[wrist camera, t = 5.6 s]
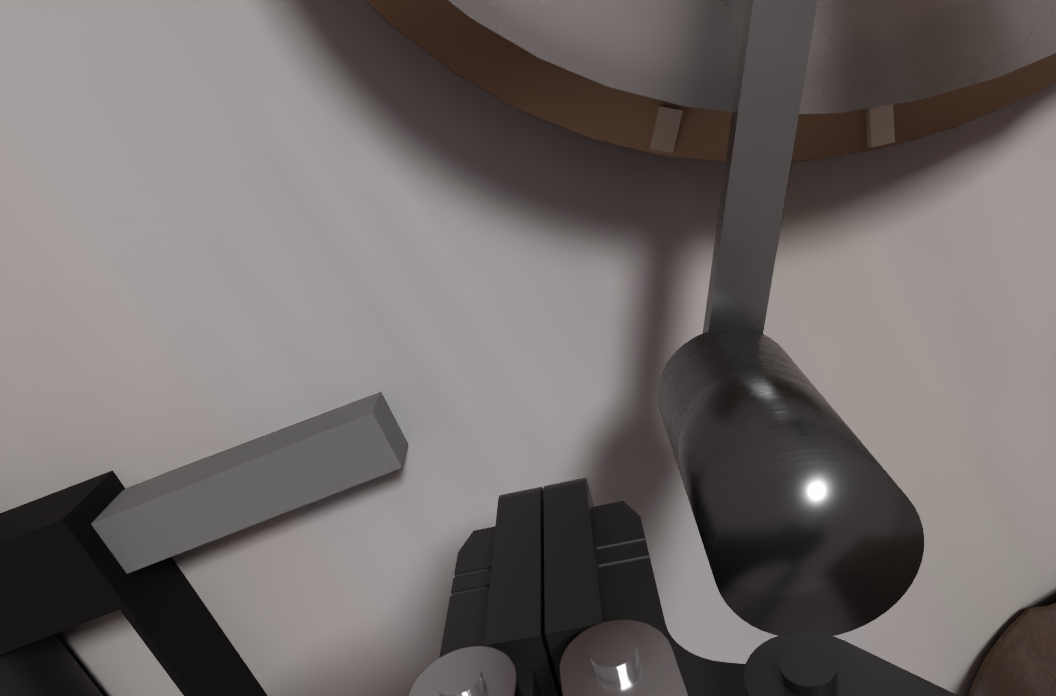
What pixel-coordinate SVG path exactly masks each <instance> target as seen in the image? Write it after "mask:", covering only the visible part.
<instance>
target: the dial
mask: <svg viewBox="0 0 1056 696" xmlns="http://www.w3.org/2000/svg"><path fill="white" fill-rule="evenodd" d="M448 1H450V2H451V3H452V4H454V5H455V6H456V7H457V8H459V9H460V10H461V11H463V12H464V13H465V14H466V15H468V16H469V17H470V18H472V19H473V20H475V21H476V22H478V23H479V24H481V25H483V26H485V27H486V28H488V29H490V30H491V31H493V32H495V33H496V34H498V35H500V36H502V37H503V38H505V39H507V40H508V41H510V42H512V43H514V44H515V45H517V46H519V47H520V48H522V49H524V50H526V51H527V52H529V53H531V54H532V55H534V56H536V57H537V58H539V59H541V60H544V61H546V62H548V63H551V64H553V65H556V66H558V67H561V68H563V69H565V70H568V71H570V72H573V73H575V74H577V75H580V76H582V77H585V78H587V79H590V80H592V81H594V82H597V83H599V84H602V85H604V86H607V87H611V88H615V89H619V90H623V91H627V92H631V93H634V94H638V95H642V96H646V97H650V98H654V99H658V100H662V101H666V102H669V103H673V104H677V105H681V106H685V107H693V108H702V109H711V110H720V111H729V112H732V118H731V125H730V133H729V140H728V148H727V155H726V163H725V170H724V178H723V185H722V193H721V201H720V208H719V216H718V223H717V231H716V238H715V246H714V253H713V261H712V268H711V276H710V283H709V291H708V298H707V306H706V313H705V321H704V328H703V334H701V335H699V336H697V337H695V338H693V339H691V340H690V341H688V342H687V343H685V344H684V345H683V346H682V347H681V348H680V349H678V350H677V351H676V353H675V354H674V355H673V356H672V357H671V358H670V360H669V361H668V363H667V364H666V366H665V368H664V370H663V372H662V375H661V378H660V381H659V387H658V404H659V409H660V412H661V416H662V419H663V422H664V425H665V428H666V431H667V434H668V437H669V440H670V443H671V446H672V450H673V453H674V456H675V459H676V462H677V465H678V468H679V471H680V474H681V477H682V480H683V483H684V486H685V490H686V493H687V496H688V499H689V502H690V505H691V508H692V511H693V514H694V517H695V520H696V523H697V527H698V530H699V533H700V536H701V539H702V542H703V545H704V548H705V551H706V554H707V557H708V560H709V563H710V567H711V570H712V573H713V576H714V579H715V582H716V585H717V587H718V589H719V592H720V594H721V596H722V597H723V599H724V600H725V602H726V604H727V605H728V606H729V607H730V608H731V609H732V610H733V612H734V613H736V614H737V615H738V616H739V617H740V618H741V619H743V620H744V621H746V622H747V623H749V624H750V625H752V626H754V627H756V628H758V629H760V630H762V631H765V632H768V633H771V634H774V635H779V636H780V635H783V634H788V633H794V632H815V633H821V634H826V635H830V636H834V635H839V634H842V633H845V632H849V631H852V630H854V629H856V628H859V627H861V626H864V625H865V624H867V623H869V622H871V621H873V620H875V619H876V618H878V617H879V616H881V615H882V614H883V613H885V612H886V611H887V610H889V609H890V608H891V607H892V606H893V605H894V604H896V603H897V601H898V600H899V599H900V598H901V597H902V596H903V595H904V594H905V592H906V591H907V590H908V588H909V587H910V585H911V584H912V582H913V580H914V578H915V577H916V575H917V573H918V570H919V567H920V564H921V561H922V556H923V551H924V534H923V527H922V524H921V521H920V517H919V515H918V513H917V511H916V509H915V507H914V506H913V504H912V503H911V502H910V500H909V499H908V497H907V496H906V495H905V494H904V493H903V492H902V490H901V489H900V488H899V487H898V486H897V484H896V483H895V482H894V481H893V480H892V478H891V477H890V476H889V475H888V474H887V472H886V471H885V470H884V469H883V468H882V466H881V465H880V464H879V463H878V462H877V461H876V459H875V458H874V457H873V456H872V455H871V453H870V452H869V451H868V450H867V449H866V447H865V446H864V445H863V444H862V443H861V441H860V440H859V439H858V438H857V437H856V436H855V434H854V433H853V432H852V431H851V430H850V428H849V427H848V426H847V425H846V424H845V422H844V421H843V420H842V419H841V418H840V416H839V415H838V414H837V413H836V412H835V410H834V409H833V408H832V407H831V406H830V405H829V403H828V402H827V401H826V400H825V399H824V397H823V396H822V395H821V394H820V393H819V391H818V390H817V389H816V388H815V387H814V385H813V384H812V383H811V382H810V381H809V380H808V378H807V377H806V376H805V375H804V374H803V372H802V371H801V370H800V369H799V368H798V366H797V365H796V364H795V363H794V362H793V360H792V359H791V358H790V357H789V356H788V354H787V353H786V352H785V351H784V350H783V349H782V348H781V347H780V346H779V345H778V344H777V343H776V342H775V341H773V340H772V339H771V338H769V337H767V336H765V335H764V334H763V330H764V324H765V318H766V312H767V305H768V299H769V293H770V287H771V281H772V275H773V269H774V263H775V257H776V251H777V245H778V239H779V233H780V226H781V220H782V214H783V208H784V202H785V196H786V190H787V184H788V178H789V172H790V166H791V160H792V154H793V147H794V141H795V135H796V129H797V123H798V117H799V114H824V113H843V112H849V111H856V110H862V109H868V108H875V107H881V106H887V105H893V104H900V103H906V102H912V101H918V100H922V99H925V98H929V97H932V96H936V95H939V94H943V93H946V92H949V91H953V90H956V89H960V88H963V87H967V86H970V85H973V84H977V83H980V82H984V81H987V80H991V79H994V78H998V77H1001V76H1003V75H1005V74H1008V73H1010V72H1012V71H1015V70H1017V69H1019V68H1022V67H1024V66H1026V65H1029V64H1031V63H1034V62H1036V61H1038V60H1041V59H1043V58H1045V57H1048V56H1050V55H1052V54H1055V53H1056V0H448Z"/></svg>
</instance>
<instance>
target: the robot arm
mask: <svg viewBox="0 0 1056 696" xmlns="http://www.w3.org/2000/svg"><path fill="white" fill-rule="evenodd" d="M451 593H452V596H451V597H450V602H449V607H448V613H447V618H446V624H445V630H444V635H443V641H442V647H441V652H440V658H439V659H437V660H436V661H434V662H433V663H432V664H430V665H429V666H428V667H427V668H426V669H425V670H424V671H423V672H422V673H421V674H420V675H419V677H418V678H417V679H416V681H415V682H414V684H413V686H412V688H411V690H410V693H409V696H958V695H956V694H954V693H951V692H949V691H947V690H945V689H943V688H941V687H939V686H937V685H935V684H933V683H931V682H929V681H927V680H925V679H922V678H920V677H918V676H916V675H914V674H912V673H910V672H908V671H906V670H904V669H902V668H900V667H898V666H896V665H893V664H891V663H889V662H887V661H885V660H883V659H881V658H879V657H877V656H875V655H873V654H871V653H869V652H867V651H864V650H862V649H860V648H858V647H856V646H854V645H852V644H850V643H848V642H846V641H844V640H841V639H839V638H836V637H833V636H830V635H826V634H821V633H815V632H794V633H788V634H783V635H780V636H777V637H774V638H771V639H770V640H768V641H766V642H764V643H763V644H761V645H760V646H759V647H758V648H756V649H755V650H754V652H753V653H752V654H751V655H750V657H749V659H748V660H747V662H746V664H737V663H725V662H718V661H712V660H708V659H705V658H701V657H699V656H697V655H694V654H692V653H690V652H689V651H687V650H685V649H684V648H682V647H681V646H680V645H679V644H677V643H676V641H675V640H674V639H673V638H672V637H671V635H670V634H669V632H668V630H667V627H666V624H665V621H664V616H663V612H662V608H661V604H660V599H659V595H658V591H657V587H656V582H655V578H654V574H653V570H652V566H651V561H650V557H649V553H648V549H647V544H646V540H645V536H644V532H643V527H642V523H641V519H640V516H639V515H638V514H637V513H636V512H635V511H634V510H632V509H631V508H630V507H629V506H628V505H627V504H626V503H625V502H624V501H621V502H616V503H611V504H606V505H601V506H596V507H594V506H593V502H592V497H591V493H590V489H589V485H588V482H587V479H586V478H582V479H577V480H573V481H568V482H563V483H558V484H553V485H548V486H544V490H543V488H542V487H539V488H534V489H529V490H524V491H519V492H514V493H509V494H504V495H500V496H499V499H498V509H497V518H496V527H491V528H486V529H481V530H476V531H473V533H472V534H471V535H470V537H469V538H468V539H467V541H466V542H465V544H464V545H463V546H462V548H461V549H460V550H459V552H458V557H457V562H456V568H455V578H454V579H453V585H452V590H451Z"/></svg>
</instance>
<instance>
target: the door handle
mask: <svg viewBox="0 0 1056 696" xmlns="http://www.w3.org/2000/svg"><path fill="white" fill-rule="evenodd" d="M407 448H408V443H407V441H406V439H405V437H404V435H403V433H402V431H401V429H400V427H399V425H398V423H397V422H396V420H395V418H394V416H393V414H392V412H391V410H390V408H389V406H388V404H387V402H386V401H385V399H384V397H383V395H382V393H381V392H379V393H377V394H374V395H371V396H369V397H366V398H363V399H361V400H358V401H355V402H353V403H350V404H348V405H345V406H342V407H340V408H337V409H334V410H332V411H329V412H326V413H324V414H321V415H318V416H316V417H313V418H310V419H308V420H305V421H302V422H300V423H297V424H294V425H292V426H289V427H286V428H284V429H281V430H278V431H276V432H273V433H270V434H268V435H265V436H262V437H260V438H257V439H254V440H252V441H249V442H246V443H244V444H241V445H239V446H236V447H233V448H231V449H228V450H225V451H223V452H220V453H217V454H215V455H212V456H209V457H207V458H204V459H201V460H199V461H196V462H193V463H191V464H188V465H185V466H183V467H180V468H177V469H175V470H172V471H170V472H167V473H165V474H162V475H160V476H157V477H155V478H152V479H150V480H147V481H145V482H142V483H140V484H137V485H135V486H132V487H130V488H127V489H125V488H124V486H123V485H122V483H121V482H120V480H119V479H118V478H117V476H116V475H115V473H114V472H113V471H110V472H108V473H105V474H102V475H100V476H97V477H95V478H92V479H89V480H87V481H84V482H82V483H79V484H76V485H74V486H71V487H68V488H66V489H63V490H61V491H58V492H55V493H53V494H50V495H47V496H45V497H42V498H40V499H37V500H34V501H32V502H29V503H27V504H24V505H21V506H19V507H16V508H13V509H11V510H8V511H6V512H3V513H0V696H103V695H102V693H101V692H100V691H99V690H98V688H97V687H96V686H95V685H94V683H93V682H92V681H91V679H90V678H89V677H88V676H87V674H86V673H85V672H84V671H83V669H82V668H81V667H80V666H79V664H78V663H77V662H76V661H75V659H74V658H73V657H72V656H71V654H70V653H69V652H68V650H67V649H66V648H65V647H64V645H63V644H62V643H61V642H60V640H59V639H58V638H57V637H56V635H55V634H56V633H59V632H61V631H64V630H67V629H69V628H72V627H75V626H77V625H80V624H82V623H85V622H88V621H90V620H93V619H96V618H98V617H101V616H103V615H106V614H109V613H111V612H114V611H117V610H119V609H120V610H121V612H122V613H123V614H124V616H125V617H126V618H127V620H128V621H129V622H130V624H131V625H132V627H133V628H134V629H135V631H136V632H137V633H138V635H139V636H140V637H141V639H142V640H143V641H144V643H145V644H146V645H147V647H148V648H149V649H150V651H151V652H152V653H153V655H154V656H155V657H156V659H157V660H158V661H159V663H160V664H161V666H162V667H163V668H164V670H165V671H166V672H167V674H168V675H169V676H170V678H171V679H172V680H173V682H174V683H175V684H176V686H177V687H178V688H179V690H180V691H181V692H182V694H183V695H184V696H267V694H266V693H265V692H264V690H263V689H262V687H261V686H260V684H259V683H258V681H257V680H256V679H255V677H254V676H253V674H252V673H251V671H250V670H249V668H248V667H247V666H246V664H245V663H244V661H243V660H242V658H241V657H240V655H239V654H238V653H237V651H236V650H235V648H234V647H233V645H232V644H231V642H230V641H229V640H228V638H227V637H226V635H225V634H224V632H223V631H222V629H221V628H220V627H219V625H218V624H217V622H216V621H215V619H214V618H213V616H212V615H211V614H210V612H209V611H208V609H207V608H206V606H205V605H204V603H203V602H202V601H201V599H200V598H199V596H198V595H197V593H196V592H195V590H194V589H193V588H192V586H191V585H190V583H189V582H188V580H187V579H186V577H185V576H184V575H183V573H182V572H181V570H180V569H179V567H178V566H177V564H176V563H175V562H174V560H173V559H172V556H174V555H177V554H180V553H182V552H185V551H187V550H190V549H193V548H195V547H198V546H200V545H203V544H206V543H208V542H211V541H213V540H216V539H219V538H221V537H224V536H226V535H229V534H232V533H234V532H237V531H239V530H242V529H245V528H247V527H250V526H252V525H255V524H258V523H260V522H263V521H265V520H268V519H271V518H273V517H276V516H278V515H281V514H284V513H286V512H289V511H291V510H294V509H297V508H299V507H302V506H304V505H307V504H309V503H312V502H315V501H317V500H320V499H322V498H325V497H328V496H330V495H333V494H335V493H338V492H341V491H343V490H346V489H348V488H351V487H354V486H356V485H359V484H361V483H364V482H367V481H369V480H372V479H374V478H377V477H380V476H382V475H385V474H387V473H390V472H393V471H395V470H398V469H400V468H402V466H403V463H404V459H405V455H406V452H407Z"/></svg>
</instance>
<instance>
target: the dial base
mask: <svg viewBox="0 0 1056 696" xmlns="http://www.w3.org/2000/svg"><path fill="white" fill-rule="evenodd" d="M366 1H367V2H368V3H369V4H370V5H371V6H372V7H373V8H374V9H375V10H376V11H377V12H378V13H379V14H380V15H381V16H382V17H383V18H384V19H385V20H386V21H387V22H388V23H389V24H390V25H391V26H393V27H394V28H395V29H397V30H398V31H399V32H401V33H402V34H403V35H405V36H406V37H407V38H409V39H410V40H411V41H413V42H414V43H415V44H417V45H418V46H419V47H421V48H422V49H423V50H425V51H426V52H427V53H429V54H430V55H431V56H433V57H434V58H435V59H437V60H438V61H439V62H441V63H442V64H443V65H445V66H446V67H447V68H449V69H450V70H451V71H453V72H454V73H455V74H457V75H459V76H461V77H462V78H464V79H466V80H468V81H470V82H471V83H473V84H475V85H477V86H478V87H480V88H482V89H484V90H485V91H487V92H489V93H491V94H493V95H494V96H496V97H498V98H500V99H501V100H503V101H505V102H507V103H508V104H510V105H512V106H514V107H516V108H517V109H519V110H521V111H523V112H526V113H528V114H531V115H533V116H536V117H538V118H541V119H543V120H546V121H548V122H551V123H553V124H556V125H558V126H561V127H563V128H566V129H568V130H571V131H573V132H576V133H578V134H581V135H583V136H586V137H588V138H592V139H596V140H600V141H604V142H608V143H612V144H616V145H620V146H624V147H628V148H632V149H636V150H641V151H645V152H649V153H653V154H657V155H663V156H672V157H681V158H691V159H700V160H709V161H719V162H726V155H727V148H728V140H729V133H730V125H731V118H732V112H729V111H720V110H711V109H702V108H693V107H685V106H681V105H677V104H673V103H669V102H666V101H662V100H658V99H654V98H650V97H646V96H642V95H638V94H634V93H631V92H627V91H623V90H619V89H615V88H611V87H607V86H604V85H602V84H599V83H597V82H594V81H592V80H590V79H587V78H585V77H582V76H580V75H577V74H575V73H573V72H570V71H568V70H565V69H563V68H561V67H558V66H556V65H553V64H551V63H548V62H546V61H544V60H541V59H539V58H537V57H536V56H534V55H532V54H531V53H529V52H527V51H526V50H524V49H522V48H520V47H519V46H517V45H515V44H514V43H512V42H510V41H508V40H507V39H505V38H503V37H502V36H500V35H498V34H496V33H495V32H493V31H491V30H490V29H488V28H486V27H485V26H483V25H481V24H479V23H478V22H476V21H475V20H473V19H472V18H470V17H469V16H468V15H466V14H465V13H464V12H463V11H461V10H460V9H459V8H457V7H456V6H455V5H454V4H452V3H451V2H450V1H448V0H366ZM1055 81H1056V53H1055V54H1052V55H1050V56H1048V57H1045V58H1043V59H1041V60H1038V61H1036V62H1034V63H1031V64H1029V65H1026V66H1024V67H1022V68H1019V69H1017V70H1015V71H1012V72H1010V73H1008V74H1005V75H1003V76H1001V77H998V78H994V79H991V80H987V81H984V82H980V83H977V84H973V85H970V86H967V87H963V88H960V89H956V90H953V91H949V92H946V93H943V94H939V95H936V96H932V97H929V98H925V99H922V100H918V101H912V102H906V103H900V104H893V105H887V106H881V107H875V108H868V109H862V110H856V111H849V112H843V113H824V114H799V117H798V123H797V129H796V135H795V141H794V147H793V154H792V160H791V161H807V160H813V159H819V158H826V157H832V156H838V155H844V154H851V153H857V152H863V151H870V150H876V149H881V148H884V147H888V146H891V145H895V144H898V143H902V142H905V141H909V140H912V139H916V138H919V137H922V136H926V135H929V134H933V133H936V132H940V131H943V130H947V129H950V128H954V127H956V126H959V125H961V124H964V123H966V122H968V121H971V120H973V119H975V118H978V117H980V116H983V115H985V114H987V113H990V112H992V111H994V110H997V109H999V108H1002V107H1004V106H1006V105H1009V104H1011V103H1013V102H1016V101H1018V100H1021V99H1023V98H1025V97H1028V96H1030V95H1032V94H1034V93H1036V92H1038V91H1039V90H1041V89H1043V88H1045V87H1046V86H1048V85H1050V84H1052V83H1054V82H1055Z"/></svg>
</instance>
